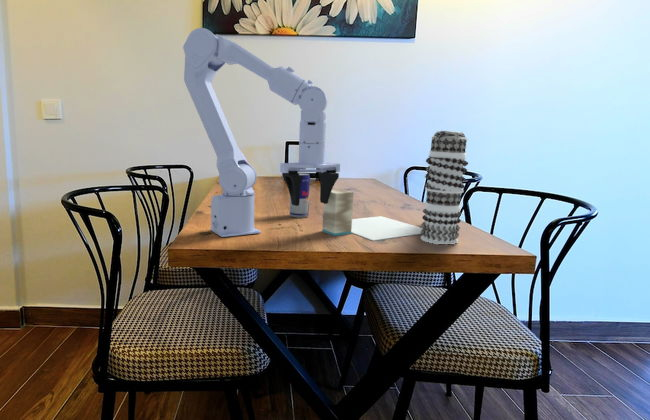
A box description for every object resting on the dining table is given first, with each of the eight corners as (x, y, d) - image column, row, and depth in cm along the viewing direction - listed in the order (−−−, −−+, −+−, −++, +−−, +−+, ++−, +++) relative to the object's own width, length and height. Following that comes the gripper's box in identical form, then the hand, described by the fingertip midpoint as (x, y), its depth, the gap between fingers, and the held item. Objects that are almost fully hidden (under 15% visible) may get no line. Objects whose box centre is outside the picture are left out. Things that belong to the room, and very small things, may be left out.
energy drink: (307, 218, 112) (309, 175, 110) (288, 217, 112) (289, 174, 110) (309, 214, 117) (310, 173, 115) (290, 213, 117) (291, 172, 115)
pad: (373, 240, 91) (373, 240, 91) (324, 222, 107) (324, 222, 107) (433, 232, 102) (433, 231, 102) (381, 216, 118) (381, 216, 118)
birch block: (334, 235, 94) (336, 193, 92) (322, 231, 98) (324, 190, 96) (351, 233, 97) (353, 192, 95) (339, 229, 101) (341, 189, 99)
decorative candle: (418, 242, 91) (428, 130, 87) (419, 233, 100) (429, 130, 95) (460, 247, 89) (473, 131, 84) (458, 237, 98) (469, 132, 93)
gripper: (291, 143, 82) (290, 209, 85) (349, 144, 90) (346, 204, 93) (276, 142, 88) (275, 203, 90) (331, 143, 96) (328, 200, 98)
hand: (309, 204), depth 92 cm, fingers open, 7 cm apart
